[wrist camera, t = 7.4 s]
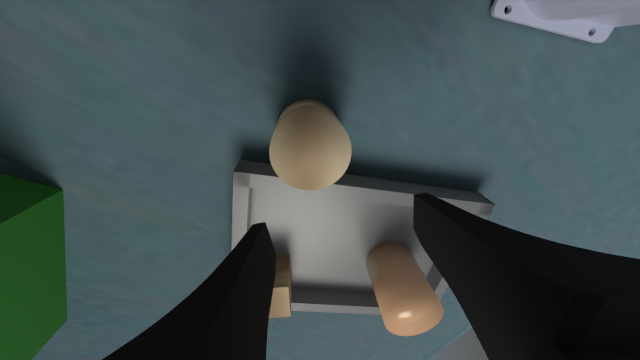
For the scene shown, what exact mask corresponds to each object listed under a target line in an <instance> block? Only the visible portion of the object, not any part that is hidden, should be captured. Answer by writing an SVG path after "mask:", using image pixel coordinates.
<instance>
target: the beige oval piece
mask: <svg viewBox="0 0 640 360" xmlns="http://www.w3.org/2000/svg"><path fill="white" fill-rule="evenodd" d="M351 153H352V149H351V142H350V139H349V136H348V134H347V132H346V131H345V129H344V127H343V126H342V124H341V123H340V121H339V120H338V118H337V117H336V115H335V114H334V112H333V111H332V110H331V109H330V108H329V107H328V106H327V105H326V104H324V103H323V102H321V101H318V100H315V99H300V100H297V101H295V102H293V103H291V104H290V105H288V106H287V107H286V108H285V109H284V110H283V112H282V113H281V115H280V117H279V119H278V122H277V125H276V128H275V130H274V133H273V136H272V139H271V142H270V147H269V156H270V161H271V165H272V167H273V169H274V171H275V172H276V174H277V175H278V176H279V177H280V178H281V179H282V180H283V181H284V182H285V183H287V184H288V185H290V186H292V187H295V188H298V189H302V190H318V189H322V188H325V187H328V186H330V185H332V184H333V183H335V182H336V181H337V180H339V179H340V178H341V177H342V175H343V174H344V173H345V171H346V170H347V168H348V166H349V163H350V160H351Z"/></svg>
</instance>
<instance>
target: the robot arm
mask: <svg viewBox="0 0 640 360" xmlns="http://www.w3.org/2000/svg"><path fill="white" fill-rule="evenodd" d="M505 7H507V9H508V10H507V12H506V14H505V12H504V10H505ZM491 15H492V16H493V17H495V18H498V19H502V20H506V21H510V22H514V23H518V24H522V25H526V26H529V27H533V28H537V29H541V30H545V31H549V32H553V33H557V34H560V35H564V36H568V37H572V38H576V39H580V40H584V41H588V42H591V43H602V42H604V41H605V40H606V39H607V38H608V37H609V35H610V33H611V32H612V30H613V28H614V27H620V26H629V25H639V24H640V0H494V2H493V5H492V7H491ZM589 31H590V33H589ZM413 229H414V232H415V234H416V236H417V238H418V240H419V242H420V244H421V245H422V247H423V249H424V250H425V252H426V253H427V255H428V256H429V258H430V259H431V261H432V262H433V264H434V265H435V266H436V268H437V269H438V271H439V272H440V274H441V275H442V277H443V278H444V279H445V281H446V282H447V284H448V285H449V287H450V288H451V290H452V292H453V293H454V295H455V296H456V298H457V300H458V302H459V303H460V305H461V307H462V309H463V311H464V313H465V314H466V316H467V318H468V320H469V322H470V324H471V326H472V327H473V329H474V331H475V333H476V335H477V337H478V339H479V341H480V343H481V345H482V347H483V349H484V351H485V353H486V355H487V357H488V359H489V360H640V259H635V258H629V257H624V256H618V255H612V254H606V253H601V252H596V251H592V250H587V249H583V248H578V247H573V246H569V245H565V244H561V243H557V242H553V241H550V240H546V239H542V238H539V237H535V236H532V235H528V234H525V233H522V232H519V231H516V230H513V229H510V228H507V227H504V226H501V225H499V224H496V223H493V222H491V221H489V220H486V219H484V218H481V217H479V216H476V215H474V214H472V213H470V212H467V211H465V210H463V209H461V208H459V207H457V206H454V205H452V204H450V203H448V202H446V201H444V200H442V199H440V198H438V197H436V196H433V195H431V194H429V193H421V194H415V195H414V202H413ZM275 274H276V252H275V249H274V246H273V243H272V240H271V237H270V234H269V231H268V228H267V225H266V222H262V223H257V224H253V225H252V226H251V227H250V228H249V230H248V231H247V232H246V234H245V235H244V236H243V237H242V239H241V240H240V241H239V242H238V244H237V245H236V246H235V247H234V249H233V250H232V251H231V252H230V254H229V255H228V256H227V257H226V258H225V259H224V260H223V262H222V263H221V264H220V265H219V266H218V267H217V268H216V270H215V271H214V272H213V273H212V274H211V275H210V276H209V277H208V278H207V279H206V280H205V281H204V282H203V283H202V284H201V285H200V286H199V287H198V288H197V289H196V290H194V291H193V292H192V293H191V294H190V295H189V296H188V297H187V298H185V299H184V300H183V301H182V302H181V303H179V304H178V305H177V306H176V307H175V308H174V309H172V310H171V311H170V312H169V313H168V314H166V315H165V316H164V317H162V318H161V319H160V320H159V321H157V322H156V323H155V324H153V325H152V326H151V327H149V328H148V329H146V330H145V331H144V332H142V333H141V334H140V335H138V336H137V337H135V338H134V339H132V340H131V341H129V342H128V343H126V344H125V345H123V346H122V347H120V348H119V349H117V350H116V351H114V352H113V353H111V354H110V355H108V356H107V357H105V358H104V359H102V360H266V344H267V329H268V320H269V313H270V307H271V300H272V294H273V287H274V281H275Z"/></svg>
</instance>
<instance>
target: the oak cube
mask: <svg viewBox="0 0 640 360" xmlns="http://www.w3.org/2000/svg"><path fill="white" fill-rule="evenodd" d="M291 292H292V277H291V262H290V254H279V255H276V274H275V281H274V287H273V294H272V300H271V307H270V313H269V318H278V317H291Z"/></svg>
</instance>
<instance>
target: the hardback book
mask: <svg viewBox="0 0 640 360" xmlns="http://www.w3.org/2000/svg"><path fill="white" fill-rule="evenodd" d="M66 320H67V300H66V268H65V235H64V203H63V190H62V189H58V188H55V187H51V186H47V185H43V184H39V183H35V182H31V181H28V180H24V179H20V178H16V177H12V176H8V175H5V174H1V173H0V360H31V359H32V358H33V357H34V356H35V355H36V354H37V353H38V351H39V350H40V349H41V348H42V347H43V346H44V345H45V344H46V342H47V341H48V340H49V339H50V338H51V337H52V336H53V335H54V334H55V332H56V331H57V330H58V329H59V328H60V327H61V326H62V325H63V324H64V322H65V321H66Z"/></svg>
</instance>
